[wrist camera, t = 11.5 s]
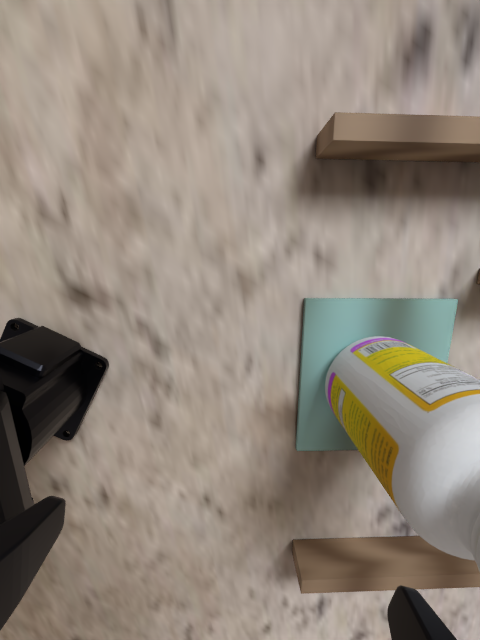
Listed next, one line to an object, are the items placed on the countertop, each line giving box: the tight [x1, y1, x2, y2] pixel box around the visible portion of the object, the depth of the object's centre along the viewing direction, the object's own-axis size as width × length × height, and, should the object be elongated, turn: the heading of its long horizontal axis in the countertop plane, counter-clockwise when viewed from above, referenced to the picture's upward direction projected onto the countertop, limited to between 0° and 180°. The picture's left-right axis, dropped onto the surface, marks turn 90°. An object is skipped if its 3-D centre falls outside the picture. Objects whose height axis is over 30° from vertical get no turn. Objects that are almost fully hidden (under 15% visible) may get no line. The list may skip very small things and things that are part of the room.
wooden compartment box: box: [292, 112, 480, 594], centre depth 20 cm, size 21×30×3 cm
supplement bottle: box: [325, 336, 480, 572], centre depth 14 cm, size 7×7×13 cm
